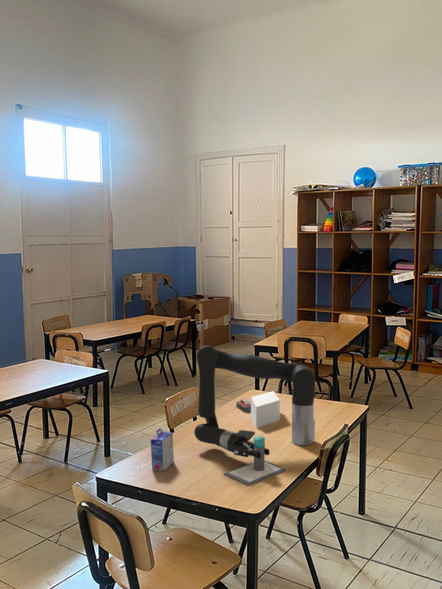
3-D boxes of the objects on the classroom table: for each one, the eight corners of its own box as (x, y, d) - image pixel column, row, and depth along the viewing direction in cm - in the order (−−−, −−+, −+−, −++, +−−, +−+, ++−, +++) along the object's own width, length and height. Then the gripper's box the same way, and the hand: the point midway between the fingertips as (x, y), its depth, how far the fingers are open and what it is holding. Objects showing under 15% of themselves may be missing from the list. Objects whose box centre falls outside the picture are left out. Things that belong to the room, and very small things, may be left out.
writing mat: (261, 460, 230) (261, 458, 230) (285, 470, 221) (285, 468, 220) (224, 474, 217) (224, 472, 217) (248, 485, 207) (248, 483, 207)
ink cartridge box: (161, 460, 231) (161, 425, 230) (174, 461, 230) (173, 426, 228) (150, 469, 222) (150, 433, 221) (163, 471, 220) (163, 434, 219)
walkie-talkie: (261, 412, 294) (245, 401, 313) (261, 403, 294) (245, 393, 312) (245, 414, 291) (230, 403, 310) (245, 405, 291) (230, 395, 309)
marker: (259, 465, 223) (259, 435, 222) (266, 468, 220) (267, 438, 219) (251, 468, 220) (251, 438, 219) (259, 471, 217) (259, 441, 216)
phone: (228, 441, 251) (240, 429, 265) (228, 442, 251) (240, 431, 265) (244, 443, 249) (255, 431, 263) (244, 445, 249) (255, 433, 263)
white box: (287, 412, 293) (287, 392, 292) (271, 430, 266) (271, 408, 265) (259, 409, 298) (259, 389, 297) (241, 426, 272) (241, 405, 270)
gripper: (220, 437, 225) (251, 449, 212) (246, 429, 235) (277, 439, 222) (220, 455, 226) (251, 468, 213) (246, 446, 235) (277, 458, 223)
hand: (264, 454), depth 218 cm, fingers closed on marker, 4 cm apart
